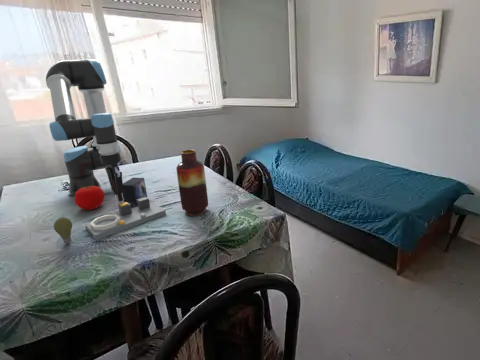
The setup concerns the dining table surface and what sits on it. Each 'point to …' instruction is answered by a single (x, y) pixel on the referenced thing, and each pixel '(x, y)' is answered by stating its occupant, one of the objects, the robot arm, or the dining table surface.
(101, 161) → the robot arm
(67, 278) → the dining table surface
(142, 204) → the plain toggle
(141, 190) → the small box
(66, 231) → the light bulb
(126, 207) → the tagged toggle
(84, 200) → the tomato
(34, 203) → the dining table surface
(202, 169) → the vase
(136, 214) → the breaker panel
